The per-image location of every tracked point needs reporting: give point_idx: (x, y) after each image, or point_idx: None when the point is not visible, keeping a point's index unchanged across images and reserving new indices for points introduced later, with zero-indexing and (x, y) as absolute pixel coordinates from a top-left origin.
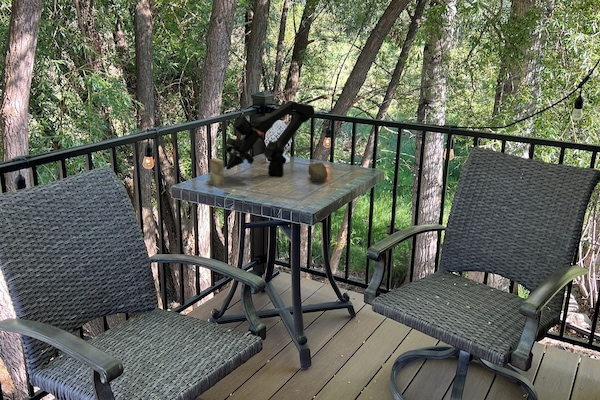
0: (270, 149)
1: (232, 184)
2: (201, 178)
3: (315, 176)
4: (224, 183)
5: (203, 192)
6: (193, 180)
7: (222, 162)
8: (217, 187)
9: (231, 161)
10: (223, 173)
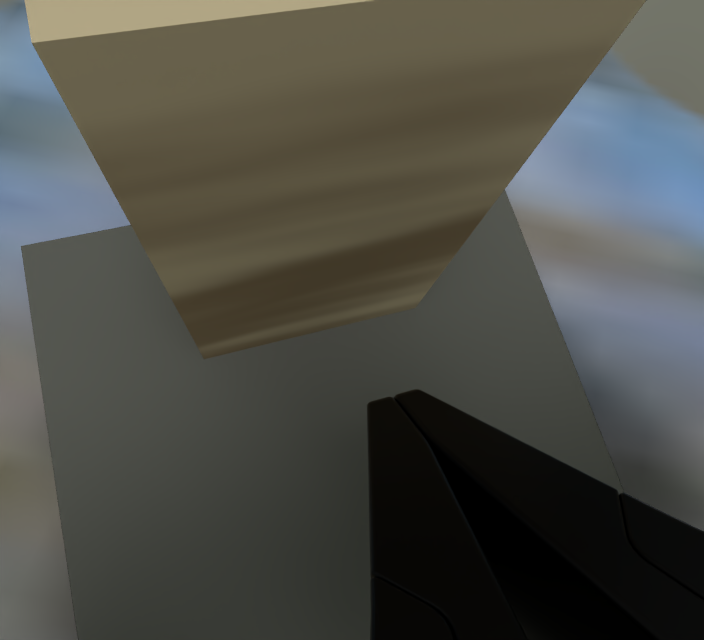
0: None
1: (190, 508)
2: (682, 163)
3: None
4: (304, 387)
5: (3, 32)
6: (603, 60)
7: (52, 57)
8: (113, 233)
9: (405, 600)
10: (164, 282)
